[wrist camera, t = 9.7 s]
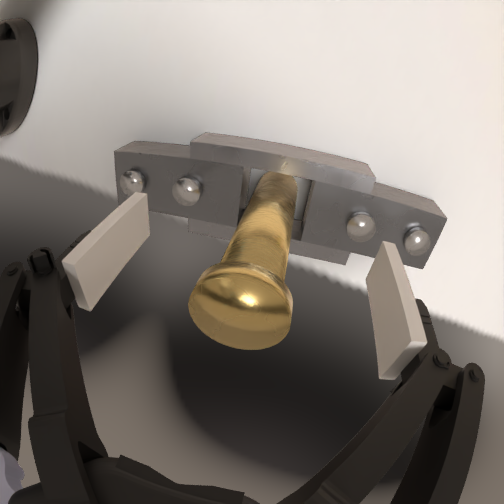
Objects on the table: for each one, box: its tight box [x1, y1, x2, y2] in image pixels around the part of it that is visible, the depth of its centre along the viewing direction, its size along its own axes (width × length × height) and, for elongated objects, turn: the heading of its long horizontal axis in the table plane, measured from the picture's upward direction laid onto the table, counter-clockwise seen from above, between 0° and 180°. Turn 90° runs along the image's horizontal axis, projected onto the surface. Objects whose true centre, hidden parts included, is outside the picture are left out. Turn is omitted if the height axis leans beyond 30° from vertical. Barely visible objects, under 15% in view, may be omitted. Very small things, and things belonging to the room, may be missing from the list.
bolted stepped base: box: [114, 133, 447, 269], centre depth 20 cm, size 25×7×4 cm, turn 83°
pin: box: [188, 171, 298, 350], centre depth 16 cm, size 4×4×13 cm
